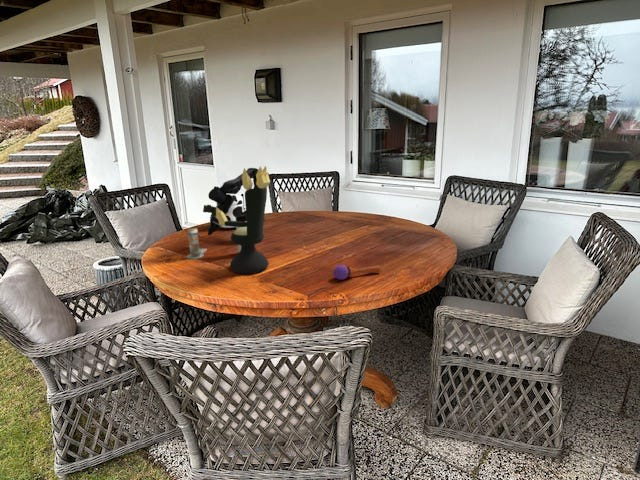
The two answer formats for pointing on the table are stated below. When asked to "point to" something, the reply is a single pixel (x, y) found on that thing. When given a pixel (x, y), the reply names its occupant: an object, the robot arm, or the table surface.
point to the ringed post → (193, 242)
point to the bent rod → (202, 250)
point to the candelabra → (249, 225)
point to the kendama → (353, 271)
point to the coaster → (195, 257)
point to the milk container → (234, 211)
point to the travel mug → (242, 219)
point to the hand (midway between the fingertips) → (208, 233)
